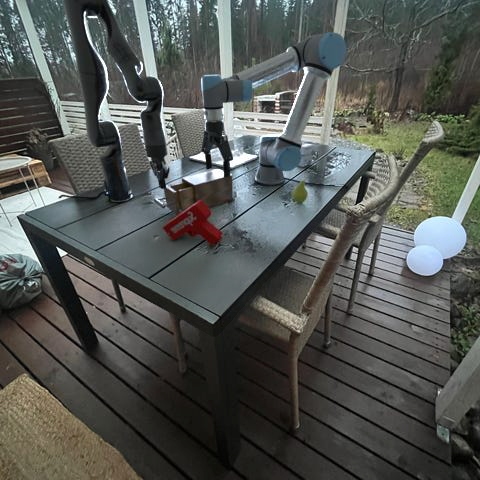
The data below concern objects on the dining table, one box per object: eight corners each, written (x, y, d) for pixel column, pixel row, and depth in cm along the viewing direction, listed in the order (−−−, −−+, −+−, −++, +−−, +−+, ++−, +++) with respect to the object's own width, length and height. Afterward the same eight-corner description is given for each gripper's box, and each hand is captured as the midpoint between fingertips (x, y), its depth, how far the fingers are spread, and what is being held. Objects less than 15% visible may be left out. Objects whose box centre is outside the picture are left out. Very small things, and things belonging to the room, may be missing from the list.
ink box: (304, 162, 171) (306, 143, 164) (310, 164, 168) (313, 144, 161) (296, 165, 166) (298, 145, 159) (302, 167, 163) (305, 147, 156)
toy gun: (229, 234, 92) (201, 198, 88) (224, 240, 88) (196, 203, 84) (194, 253, 102) (168, 222, 98) (189, 259, 98) (162, 227, 94)
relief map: (231, 168, 161) (231, 160, 158) (189, 159, 179) (189, 151, 176) (257, 158, 179) (257, 150, 176) (217, 150, 197) (216, 142, 194)
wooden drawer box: (197, 211, 114) (194, 185, 108) (184, 203, 121) (181, 177, 115) (232, 199, 124) (232, 174, 118) (219, 192, 131) (217, 168, 125)
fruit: (288, 200, 123) (290, 174, 116) (302, 197, 125) (305, 172, 119) (296, 206, 118) (299, 179, 111) (310, 203, 120) (314, 177, 114)
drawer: (165, 219, 107) (160, 196, 101) (154, 210, 113) (150, 188, 108) (213, 203, 119) (211, 182, 113) (201, 196, 125) (199, 176, 120)
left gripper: (137, 140, 99) (146, 185, 108) (152, 147, 90) (161, 195, 99) (157, 137, 103) (164, 181, 112) (173, 143, 94) (179, 190, 103)
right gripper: (190, 117, 114) (195, 167, 125) (225, 125, 97) (227, 182, 109) (205, 115, 117) (209, 164, 129) (241, 123, 101) (242, 177, 113)
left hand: (162, 188), depth 106 cm, fingers closed
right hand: (217, 172), depth 119 cm, fingers open, 13 cm apart
